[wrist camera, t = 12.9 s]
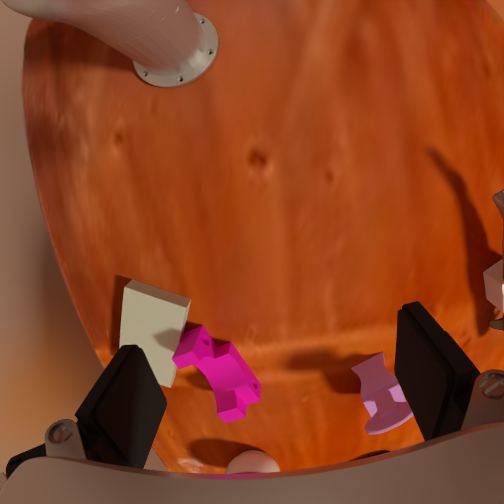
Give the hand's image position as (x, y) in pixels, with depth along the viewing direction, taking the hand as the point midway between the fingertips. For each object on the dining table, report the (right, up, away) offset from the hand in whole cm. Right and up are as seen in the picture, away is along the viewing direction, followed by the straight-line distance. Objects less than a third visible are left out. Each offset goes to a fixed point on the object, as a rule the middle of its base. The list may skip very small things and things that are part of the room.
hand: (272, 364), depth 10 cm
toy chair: (+21, -18, +38) cm, 47 cm away
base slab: (-17, -9, +38) cm, 43 cm away
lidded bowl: (0, -43, +47) cm, 64 cm away
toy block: (-5, -14, +39) cm, 42 cm away
